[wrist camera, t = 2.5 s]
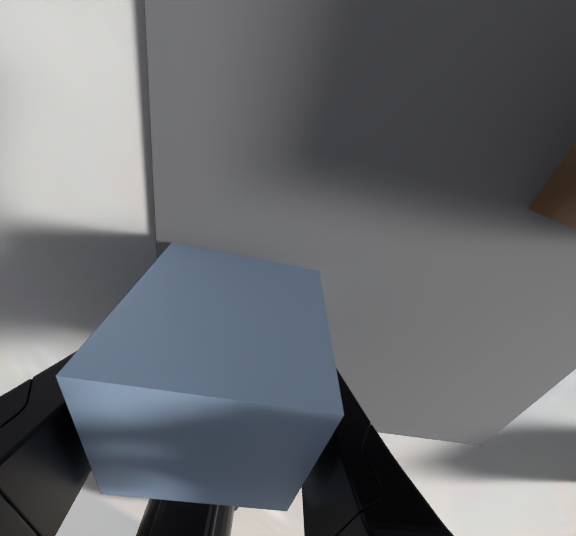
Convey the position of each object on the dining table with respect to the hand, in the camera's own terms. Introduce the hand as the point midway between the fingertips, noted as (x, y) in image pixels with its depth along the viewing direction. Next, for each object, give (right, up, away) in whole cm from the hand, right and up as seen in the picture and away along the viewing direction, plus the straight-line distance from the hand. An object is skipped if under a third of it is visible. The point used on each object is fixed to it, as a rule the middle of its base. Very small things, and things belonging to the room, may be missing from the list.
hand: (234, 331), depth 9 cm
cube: (0, +1, +1) cm, 1 cm away
